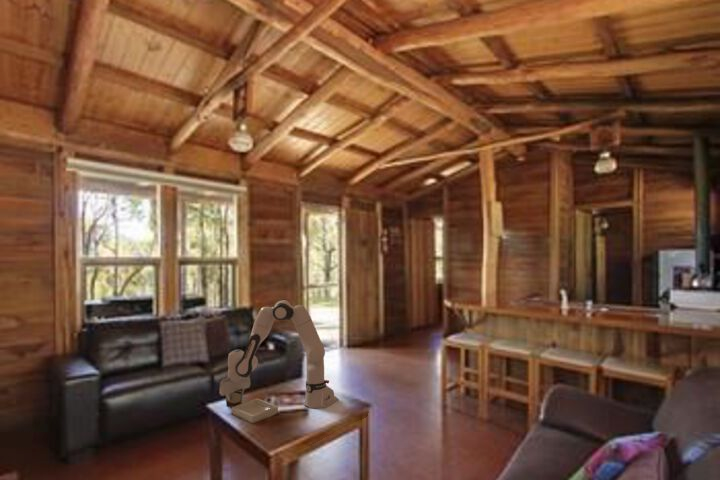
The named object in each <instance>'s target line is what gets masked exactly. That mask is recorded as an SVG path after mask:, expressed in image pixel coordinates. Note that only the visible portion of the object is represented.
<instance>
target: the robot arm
mask: <svg viewBox="0 0 720 480" xmlns="http://www.w3.org/2000/svg"><path fill="white" fill-rule="evenodd" d="M308 311H309V310H307V308H306V307H305V306H304V305H303V304H297V305H293V304H292V302H291V301H290V300H289V299H285V298H283V299H280V300H278V301H277V302H276V303H275V304H273V305H272V306H271V307H270V306H263V307H261V308H260V310H259V312H257V315H256V318H255V320H254V323H253V326H252V329H251V333H250V336H249V339H248V342H247V344H246V347H245V349H244V351H243V350H242V349H234V350H232V351H230V352H229V353H228V358H227V366H228V370H227V378H225V379H222V380H221V381H220V383H219V392H218V394H219V395H220V396H222V397H224V396H225V397H226V396H227V397H228V401H230V400H231V397H230V396H229V395H230V393H233V392H234V391H239V390H241V388H242V389H243V392H244V393H245V389H248V388H250V386H251V378H250V376H251V374H252V372H253V371H254V370H255V369H256V368H257V367H258V365H259V359H258V357H257V356H256V353H257V350H258V349H259V347H260V345H261V344H262V343H263V342H264V340H265V339H266V338H267V337H268V336H269V334H270V332H271V330H272V328H273V325H274V322H275V320H277V321H288V320H291V321H292V323H293V325H294V327H295V329H296V332H297V334H298V336H299V340H300V341H301V344H302V346H303V348H304V351H305V355H306V360H305V361H306V381H305V395H304V396H305V397H304V400H305V401H304V402H305V404H306V405H307V406H308V407H307V408H309V409H318V408H319V409H320V408H321V409H322V408H325V409H326V408H328V407H329V406H331V405H333V404H334V403H335V402H337V401H339V398H338V397H337V396H336V395H335V392H334V390H333V389H332V388H331V387H329V385H327V384H330V380H328V379H325V354H326V351H325V347H324V344H323V342H322V341H321V338H320V336H319V333H318V331H317V329H316V327H315V324H314V321H313V320H312V316H311V315H310V313H309V312H308ZM243 395H244V394H243ZM243 395H242V397H243Z"/></svg>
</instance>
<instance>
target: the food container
mask: <svg viewBox="0 0 720 480" xmlns="http://www.w3.org/2000/svg"><path fill="white" fill-rule="evenodd" d="M244 393H245V391H244V392H243V389H242V388H241V390H239V391H234V392H233V393H230V395H229V396H230V397H231V400H230V401H228V397H227V396H226V395H225V404H226V407H231V408H232V407H234V406H237V405H240V404H243V403H242V402H243V396H242V395H244Z"/></svg>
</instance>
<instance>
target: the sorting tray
mask: <svg viewBox="0 0 720 480" xmlns="http://www.w3.org/2000/svg"><path fill="white" fill-rule="evenodd" d="M264 406H268V407H269V408H270V409H268V410H264ZM277 414H279V406H278V405H275V404H272V403H270V402H267V401H265V400H262V399H260V398H258V397H257V398H255V399H252V400H248V401H246V402H243V403H242V404H240V405H237V406H234V407H231V415H233V416H236V417H237V418H240V419H241V420H244V421H245V420H246V422H248V423H250V424H255V423H258V422H259V421H260V422H261V421H262V420H265V419H267V418H270V417H273V416H275V415H277Z"/></svg>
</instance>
